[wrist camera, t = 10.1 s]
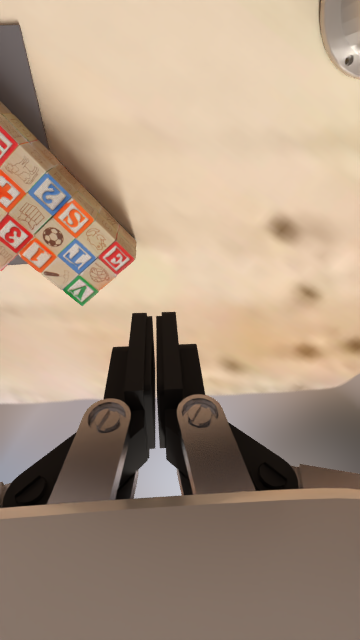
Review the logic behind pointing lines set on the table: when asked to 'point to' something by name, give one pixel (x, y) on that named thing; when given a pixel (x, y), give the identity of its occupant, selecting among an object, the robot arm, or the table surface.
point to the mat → (19, 87)
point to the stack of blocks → (55, 218)
